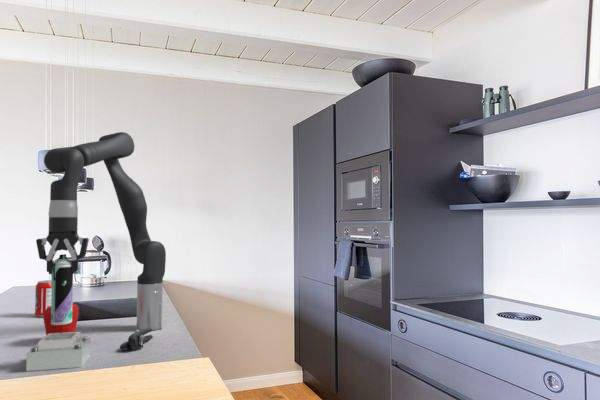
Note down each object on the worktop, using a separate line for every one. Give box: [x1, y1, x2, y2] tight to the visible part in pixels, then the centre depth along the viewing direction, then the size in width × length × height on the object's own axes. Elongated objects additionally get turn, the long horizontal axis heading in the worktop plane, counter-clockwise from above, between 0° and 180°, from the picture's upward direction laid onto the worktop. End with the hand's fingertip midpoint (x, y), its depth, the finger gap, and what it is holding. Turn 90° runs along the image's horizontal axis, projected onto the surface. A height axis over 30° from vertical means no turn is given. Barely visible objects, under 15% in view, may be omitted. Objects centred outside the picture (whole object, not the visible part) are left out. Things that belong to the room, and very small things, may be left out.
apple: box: [42, 302, 80, 336], centre depth 153 cm, size 11×10×14 cm
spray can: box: [51, 254, 74, 325], centre depth 131 cm, size 6×6×20 cm
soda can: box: [34, 279, 52, 318], centre depth 192 cm, size 8×8×15 cm
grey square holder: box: [25, 331, 92, 372], centre depth 130 cm, size 14×12×8 cm
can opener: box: [119, 328, 154, 351], centre depth 148 cm, size 18×7×6 cm, turn 175°
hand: (62, 273), depth 131 cm, fingers closed on spray can, 5 cm apart
